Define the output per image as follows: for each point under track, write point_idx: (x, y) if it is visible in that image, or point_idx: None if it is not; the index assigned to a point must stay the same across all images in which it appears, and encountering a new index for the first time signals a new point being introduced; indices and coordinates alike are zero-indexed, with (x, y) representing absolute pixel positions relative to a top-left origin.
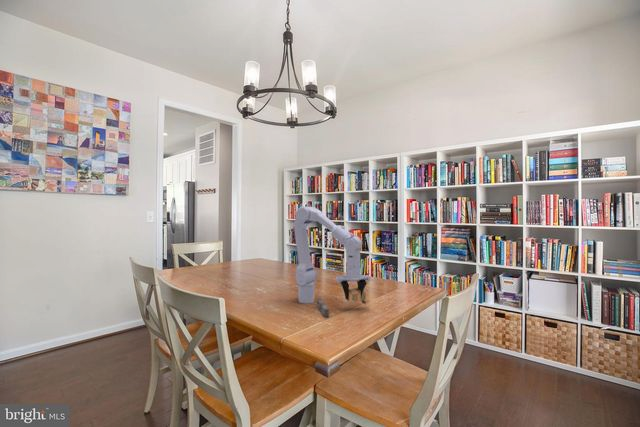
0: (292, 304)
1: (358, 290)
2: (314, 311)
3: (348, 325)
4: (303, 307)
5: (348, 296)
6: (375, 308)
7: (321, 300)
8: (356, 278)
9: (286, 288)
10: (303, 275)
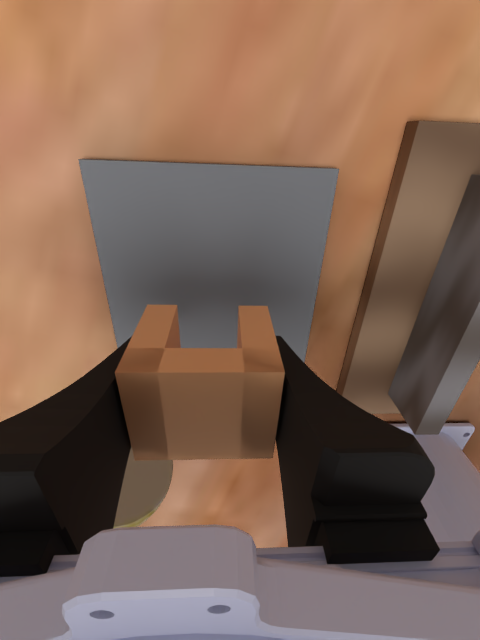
0: (472, 457)
1: (140, 393)
2: None
3: (361, 25)
4: (449, 419)
5: None
6: (34, 333)
7: (431, 406)
8: (149, 613)
9: None
10: None
